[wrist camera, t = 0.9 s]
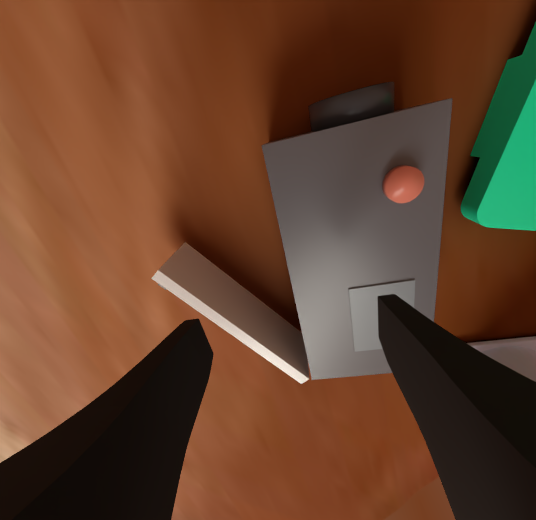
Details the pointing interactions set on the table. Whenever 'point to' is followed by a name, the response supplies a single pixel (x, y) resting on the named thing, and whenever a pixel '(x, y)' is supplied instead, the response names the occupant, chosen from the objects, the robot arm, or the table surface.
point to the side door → (234, 310)
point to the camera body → (360, 220)
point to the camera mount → (507, 151)
